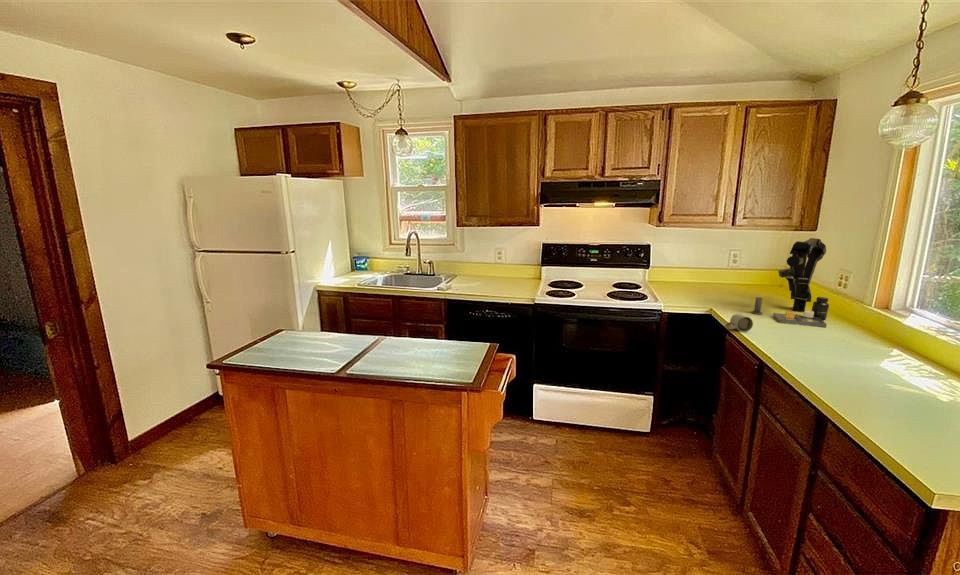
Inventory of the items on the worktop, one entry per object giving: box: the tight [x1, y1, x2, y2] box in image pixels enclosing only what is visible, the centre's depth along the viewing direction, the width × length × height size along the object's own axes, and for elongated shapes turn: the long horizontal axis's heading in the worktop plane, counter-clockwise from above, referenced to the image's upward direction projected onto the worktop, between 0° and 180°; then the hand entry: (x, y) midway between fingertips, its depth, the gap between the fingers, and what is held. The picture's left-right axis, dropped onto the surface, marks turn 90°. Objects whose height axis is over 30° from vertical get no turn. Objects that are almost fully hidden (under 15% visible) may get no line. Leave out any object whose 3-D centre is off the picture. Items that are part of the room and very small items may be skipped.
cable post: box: [750, 296, 764, 316], centre depth 236 cm, size 5×5×9 cm
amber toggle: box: [784, 310, 796, 318], centre depth 222 cm, size 2×4×3 cm, turn 71°
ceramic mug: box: [724, 313, 754, 333], centre depth 209 cm, size 11×8×8 cm
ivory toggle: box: [803, 310, 814, 318], centre depth 223 cm, size 2×4×3 cm, turn 71°
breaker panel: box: [772, 312, 827, 328], centre depth 223 cm, size 12×20×3 cm, turn 71°
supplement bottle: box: [811, 296, 830, 322], centre depth 227 cm, size 7×7×12 cm
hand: (793, 292), depth 233 cm, fingers open, 9 cm apart
